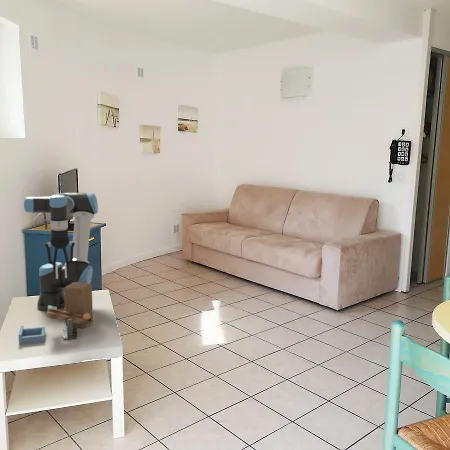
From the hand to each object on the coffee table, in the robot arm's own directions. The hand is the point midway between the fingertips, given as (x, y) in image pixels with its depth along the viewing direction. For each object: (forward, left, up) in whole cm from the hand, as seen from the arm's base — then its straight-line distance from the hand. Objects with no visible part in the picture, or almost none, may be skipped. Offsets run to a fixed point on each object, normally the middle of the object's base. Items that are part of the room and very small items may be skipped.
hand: (61, 277), depth 225 cm
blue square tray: (+11, -13, -25) cm, 30 cm away
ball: (+11, +11, -17) cm, 23 cm away
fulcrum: (+11, +3, -25) cm, 27 cm away
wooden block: (-1, +7, -25) cm, 26 cm away
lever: (+8, +3, -17) cm, 19 cm away
